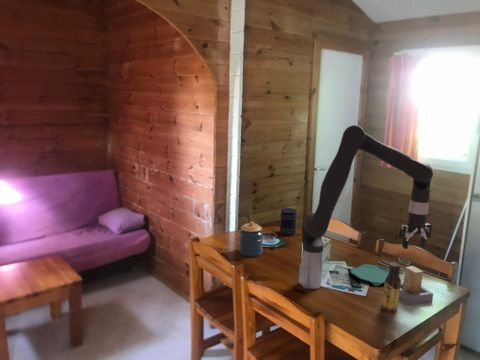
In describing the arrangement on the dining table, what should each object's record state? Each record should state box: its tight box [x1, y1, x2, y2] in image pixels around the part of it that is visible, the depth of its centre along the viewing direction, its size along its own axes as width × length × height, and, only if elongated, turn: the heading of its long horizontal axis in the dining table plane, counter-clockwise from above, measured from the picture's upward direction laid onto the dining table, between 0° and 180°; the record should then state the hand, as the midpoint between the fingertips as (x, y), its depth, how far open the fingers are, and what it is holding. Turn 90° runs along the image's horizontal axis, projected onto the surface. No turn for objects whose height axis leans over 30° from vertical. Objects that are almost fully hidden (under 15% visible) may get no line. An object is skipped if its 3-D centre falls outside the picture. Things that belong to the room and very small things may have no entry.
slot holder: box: [399, 282, 434, 306], centre depth 183 cm, size 12×12×4 cm
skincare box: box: [402, 265, 424, 295], centre depth 182 cm, size 6×4×12 cm
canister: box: [238, 221, 264, 258], centre depth 226 cm, size 13×13×18 cm
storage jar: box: [279, 207, 298, 237], centre depth 258 cm, size 10×10×15 cm
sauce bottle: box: [381, 261, 402, 313], centre depth 171 cm, size 6×6×20 cm
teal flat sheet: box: [350, 259, 405, 287], centre depth 205 cm, size 20×30×2 cm, turn 127°
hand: (413, 247), depth 179 cm, fingers open, 8 cm apart
